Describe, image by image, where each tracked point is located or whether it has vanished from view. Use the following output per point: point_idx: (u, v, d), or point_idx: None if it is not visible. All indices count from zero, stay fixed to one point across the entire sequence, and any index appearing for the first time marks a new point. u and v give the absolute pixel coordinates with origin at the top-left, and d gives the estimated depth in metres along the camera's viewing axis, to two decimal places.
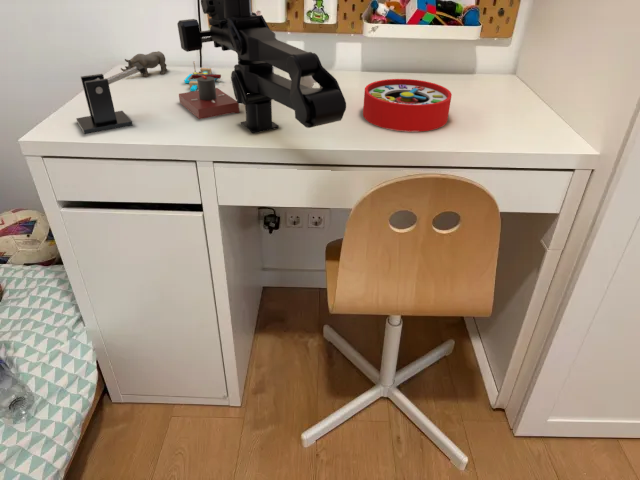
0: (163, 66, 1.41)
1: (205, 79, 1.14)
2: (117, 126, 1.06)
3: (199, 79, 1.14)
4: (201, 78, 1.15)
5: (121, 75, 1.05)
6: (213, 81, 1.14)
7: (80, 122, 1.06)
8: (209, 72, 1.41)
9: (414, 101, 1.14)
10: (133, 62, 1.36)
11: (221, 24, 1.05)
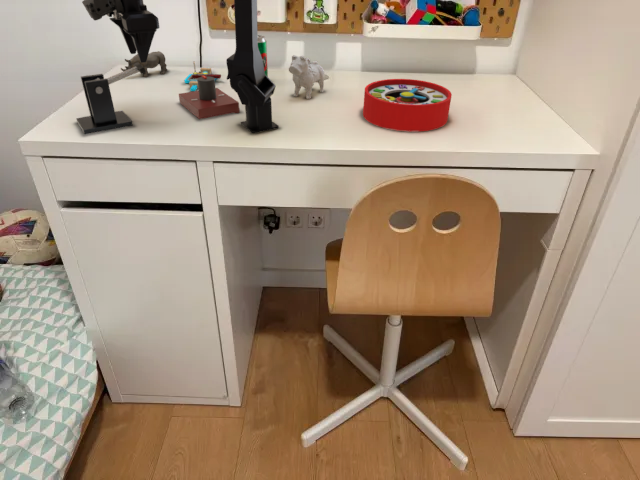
0: (163, 66, 1.41)
1: (205, 79, 1.14)
2: (117, 126, 1.06)
3: (199, 79, 1.14)
4: (201, 78, 1.15)
5: (121, 75, 1.05)
6: (213, 81, 1.14)
7: (80, 122, 1.06)
8: (209, 72, 1.41)
9: (414, 101, 1.14)
10: (133, 62, 1.36)
11: None
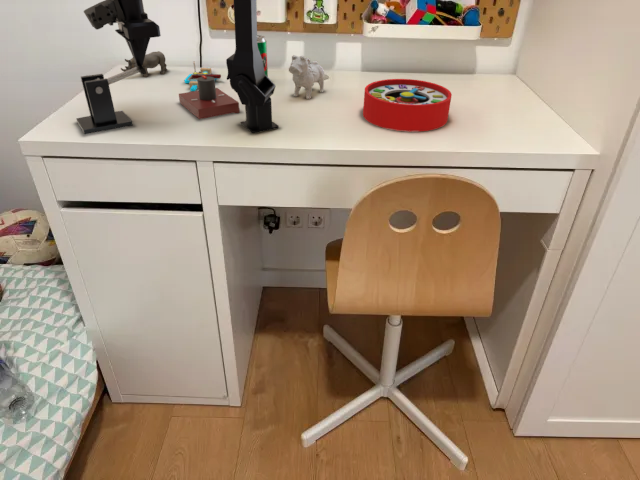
0: (163, 66, 1.41)
1: (205, 79, 1.14)
2: (117, 126, 1.06)
3: (199, 79, 1.14)
4: (201, 78, 1.15)
5: (121, 75, 1.05)
6: (213, 81, 1.14)
7: (80, 122, 1.06)
8: (209, 72, 1.41)
9: (414, 101, 1.14)
10: (133, 62, 1.36)
11: None
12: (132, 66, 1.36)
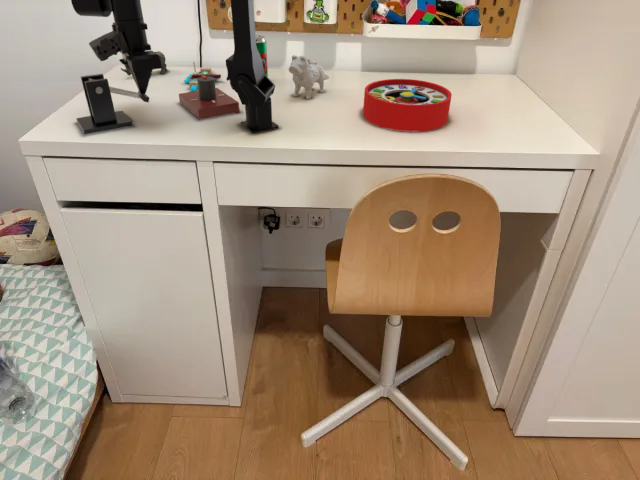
0: (163, 66, 1.41)
1: (205, 79, 1.14)
2: (117, 126, 1.06)
3: (199, 79, 1.14)
4: (201, 78, 1.15)
5: (124, 92, 1.07)
6: (213, 81, 1.14)
7: (80, 122, 1.06)
8: (209, 72, 1.41)
9: (414, 101, 1.14)
10: None
11: (120, 26, 0.99)
12: None
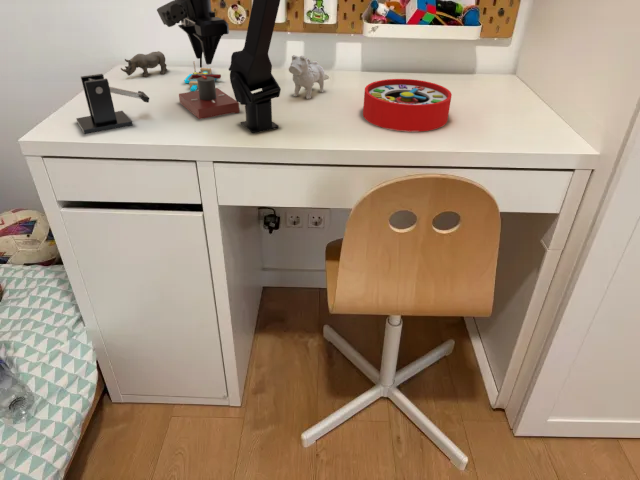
0: (163, 66, 1.41)
1: (205, 79, 1.14)
2: (117, 126, 1.06)
3: (199, 79, 1.14)
4: (201, 78, 1.15)
5: (124, 92, 1.07)
6: (213, 81, 1.14)
7: (80, 122, 1.06)
8: (209, 72, 1.41)
9: (414, 101, 1.14)
10: (133, 62, 1.36)
11: None
12: (132, 66, 1.36)
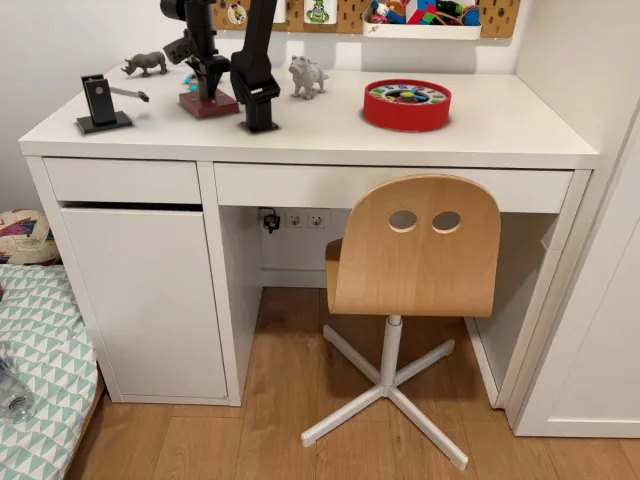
0: (163, 66, 1.41)
1: None
2: (117, 126, 1.06)
3: (199, 79, 1.14)
4: (201, 78, 1.15)
5: (124, 92, 1.07)
6: None
7: (80, 122, 1.06)
8: None
9: (414, 101, 1.14)
10: (133, 62, 1.36)
11: (193, 32, 1.06)
12: (132, 66, 1.36)
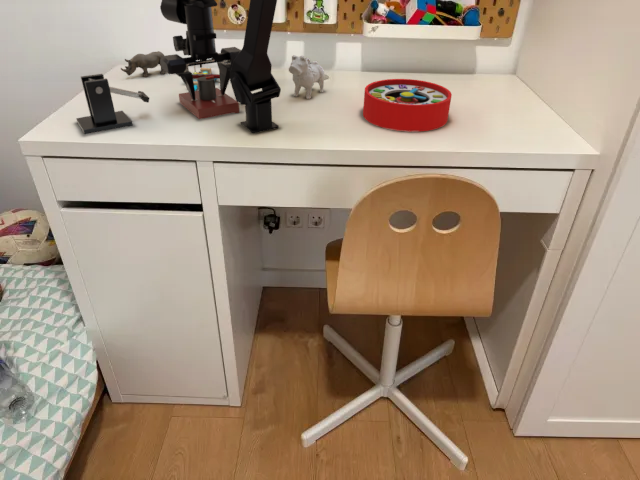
0: None
1: (203, 78, 1.15)
2: (117, 126, 1.06)
3: (204, 77, 1.16)
4: (207, 77, 1.16)
5: (124, 92, 1.07)
6: (201, 82, 1.13)
7: (80, 122, 1.06)
8: (209, 72, 1.41)
9: (414, 101, 1.14)
10: (133, 62, 1.36)
11: (187, 31, 1.10)
12: (132, 66, 1.36)
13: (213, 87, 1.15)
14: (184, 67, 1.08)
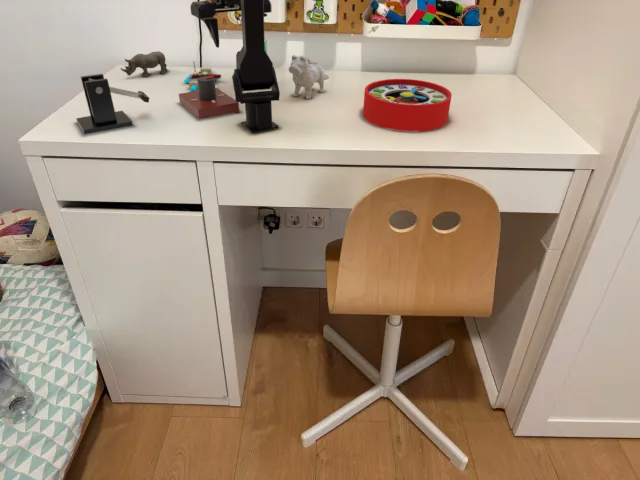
0: (163, 66, 1.41)
1: (203, 78, 1.15)
2: (117, 126, 1.06)
3: (204, 77, 1.16)
4: (207, 77, 1.16)
5: (124, 92, 1.07)
6: (201, 82, 1.13)
7: (80, 122, 1.06)
8: (209, 72, 1.41)
9: (414, 101, 1.14)
10: (133, 62, 1.36)
11: None
12: (132, 66, 1.36)
13: (213, 87, 1.15)
14: (214, 12, 1.12)
